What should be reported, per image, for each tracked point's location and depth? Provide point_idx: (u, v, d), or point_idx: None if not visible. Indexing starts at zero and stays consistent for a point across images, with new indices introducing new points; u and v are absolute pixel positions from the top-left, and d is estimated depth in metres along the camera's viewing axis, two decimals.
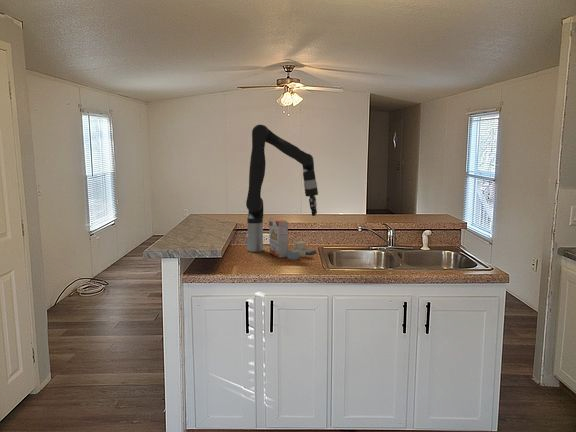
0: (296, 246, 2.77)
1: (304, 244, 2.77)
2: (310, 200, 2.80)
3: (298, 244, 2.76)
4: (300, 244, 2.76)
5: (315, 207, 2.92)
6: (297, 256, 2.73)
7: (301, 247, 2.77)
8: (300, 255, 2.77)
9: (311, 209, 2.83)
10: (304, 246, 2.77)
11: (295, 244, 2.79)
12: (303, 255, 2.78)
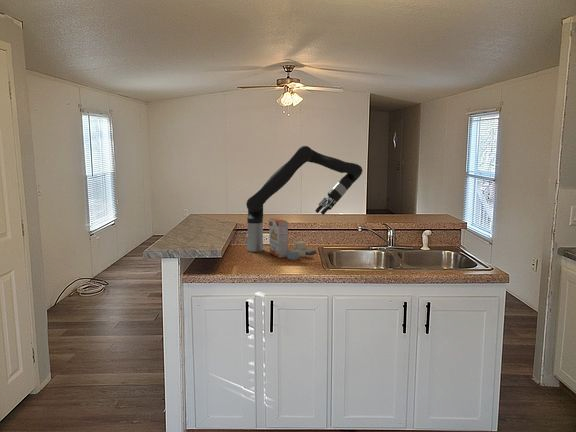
0: (296, 246, 2.77)
1: (304, 244, 2.77)
2: (333, 201, 2.75)
3: (298, 244, 2.76)
4: (300, 244, 2.76)
5: (321, 208, 2.85)
6: (297, 256, 2.73)
7: (301, 247, 2.77)
8: (300, 255, 2.77)
9: (325, 207, 2.76)
10: (304, 246, 2.77)
11: (295, 244, 2.79)
12: (303, 255, 2.78)
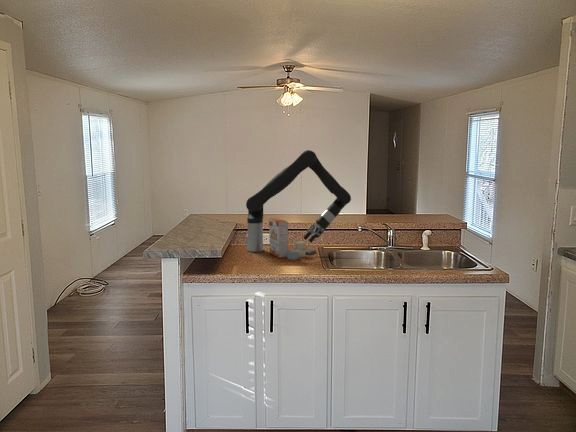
0: (296, 246, 2.77)
1: (304, 244, 2.77)
2: (321, 229, 2.75)
3: (298, 244, 2.76)
4: (300, 244, 2.76)
5: (309, 234, 2.85)
6: (297, 256, 2.73)
7: (301, 247, 2.77)
8: (300, 255, 2.77)
9: (313, 235, 2.76)
10: (304, 246, 2.77)
11: (295, 244, 2.79)
12: (303, 255, 2.78)
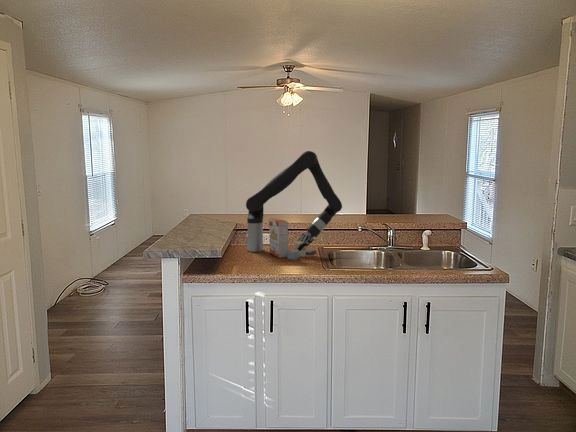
0: (296, 246, 2.77)
1: None
2: (310, 238, 2.74)
3: (298, 244, 2.76)
4: (300, 244, 2.76)
5: None
6: (297, 256, 2.73)
7: None
8: (300, 255, 2.77)
9: (302, 244, 2.76)
10: None
11: (295, 244, 2.79)
12: (303, 255, 2.78)
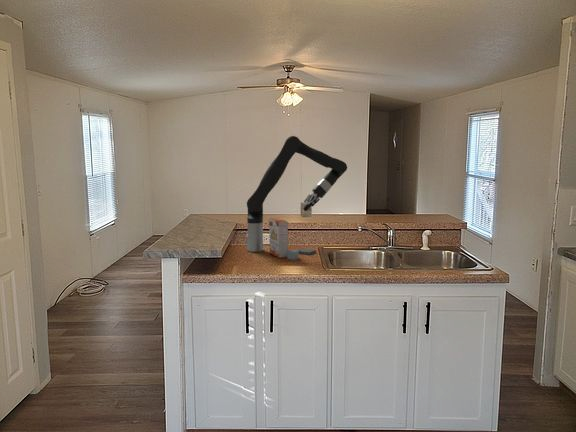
0: (302, 206, 2.83)
1: None
2: (316, 198, 2.79)
3: (304, 204, 2.81)
4: (306, 204, 2.82)
5: None
6: (297, 256, 2.73)
7: None
8: (306, 215, 2.83)
9: (308, 204, 2.81)
10: None
11: (301, 205, 2.84)
12: (309, 215, 2.83)
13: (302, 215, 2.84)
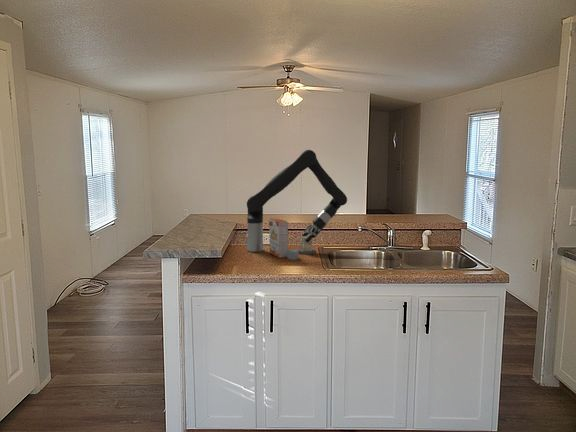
0: (302, 240, 2.86)
1: None
2: (318, 229, 2.81)
3: (304, 239, 2.84)
4: None
5: (306, 235, 2.91)
6: (297, 256, 2.73)
7: None
8: (306, 249, 2.86)
9: (310, 235, 2.82)
10: (310, 240, 2.86)
11: (301, 239, 2.87)
12: (309, 249, 2.86)
13: (302, 249, 2.87)
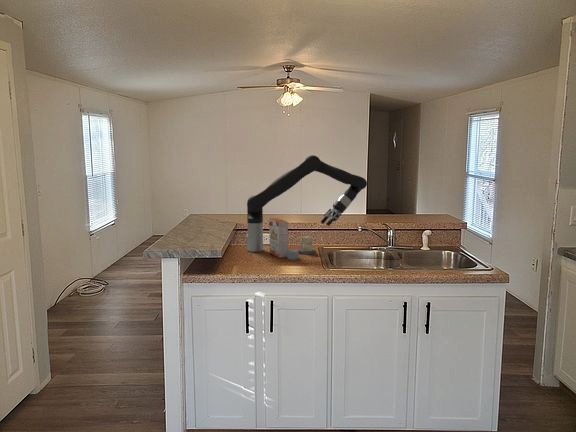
0: (302, 240, 2.86)
1: (310, 239, 2.85)
2: (338, 213, 2.84)
3: (304, 239, 2.84)
4: (306, 239, 2.85)
5: (326, 219, 2.94)
6: (297, 256, 2.73)
7: (307, 241, 2.85)
8: (306, 249, 2.86)
9: (331, 219, 2.85)
10: (310, 240, 2.86)
11: (301, 239, 2.87)
12: (309, 249, 2.86)
13: (302, 249, 2.87)
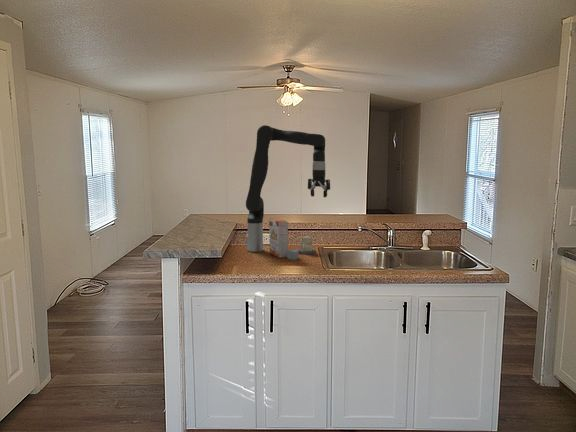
0: (302, 240, 2.86)
1: (310, 239, 2.85)
2: (328, 181, 2.80)
3: (304, 239, 2.84)
4: (306, 239, 2.85)
5: (313, 190, 2.88)
6: (297, 256, 2.73)
7: (307, 241, 2.85)
8: (306, 249, 2.86)
9: (325, 190, 2.81)
10: (310, 240, 2.86)
11: (301, 239, 2.87)
12: (309, 249, 2.86)
13: (302, 249, 2.87)
